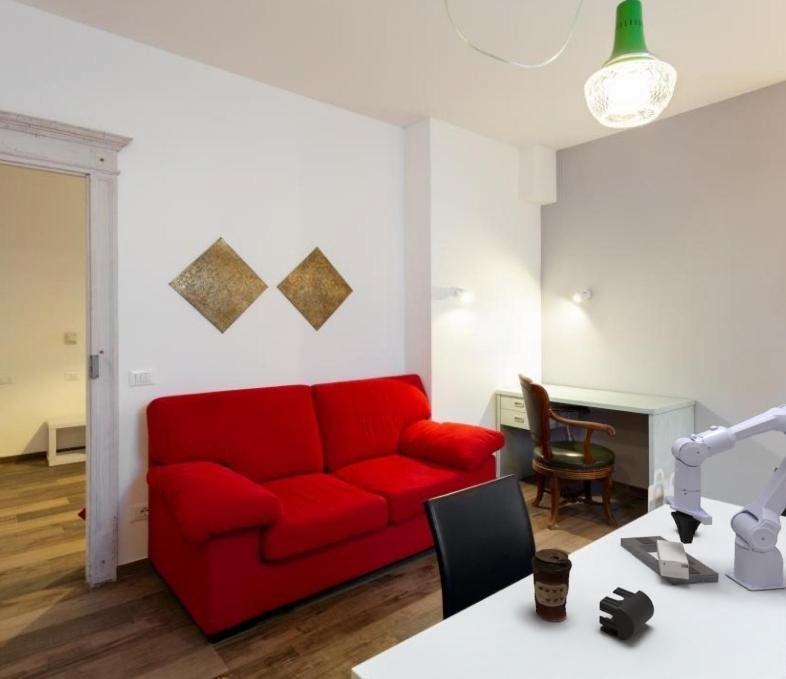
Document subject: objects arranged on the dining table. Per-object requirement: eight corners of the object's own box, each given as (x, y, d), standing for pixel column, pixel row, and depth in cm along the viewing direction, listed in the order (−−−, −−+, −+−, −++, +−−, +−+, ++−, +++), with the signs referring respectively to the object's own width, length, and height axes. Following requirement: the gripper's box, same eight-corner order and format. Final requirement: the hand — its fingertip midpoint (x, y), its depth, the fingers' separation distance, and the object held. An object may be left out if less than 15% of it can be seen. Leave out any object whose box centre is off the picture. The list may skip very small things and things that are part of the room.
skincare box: (657, 554, 134) (659, 577, 123) (656, 538, 134) (659, 559, 123) (684, 558, 132) (689, 581, 121) (683, 541, 132) (688, 562, 121)
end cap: (633, 648, 99) (634, 613, 99) (597, 631, 105) (598, 599, 104) (654, 627, 106) (655, 595, 106) (620, 613, 111) (620, 582, 111)
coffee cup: (574, 628, 106) (575, 566, 105) (532, 623, 107) (532, 562, 107) (568, 605, 114) (569, 547, 114) (529, 601, 116) (530, 544, 115)
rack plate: (660, 542, 146) (660, 535, 146) (718, 581, 124) (718, 573, 124) (620, 545, 145) (620, 537, 145) (672, 585, 123) (672, 576, 123)
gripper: (653, 479, 133) (652, 531, 134) (693, 498, 119) (691, 556, 119) (678, 478, 134) (677, 530, 134) (721, 497, 120) (719, 555, 120)
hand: (686, 542), depth 127 cm, fingers closed
